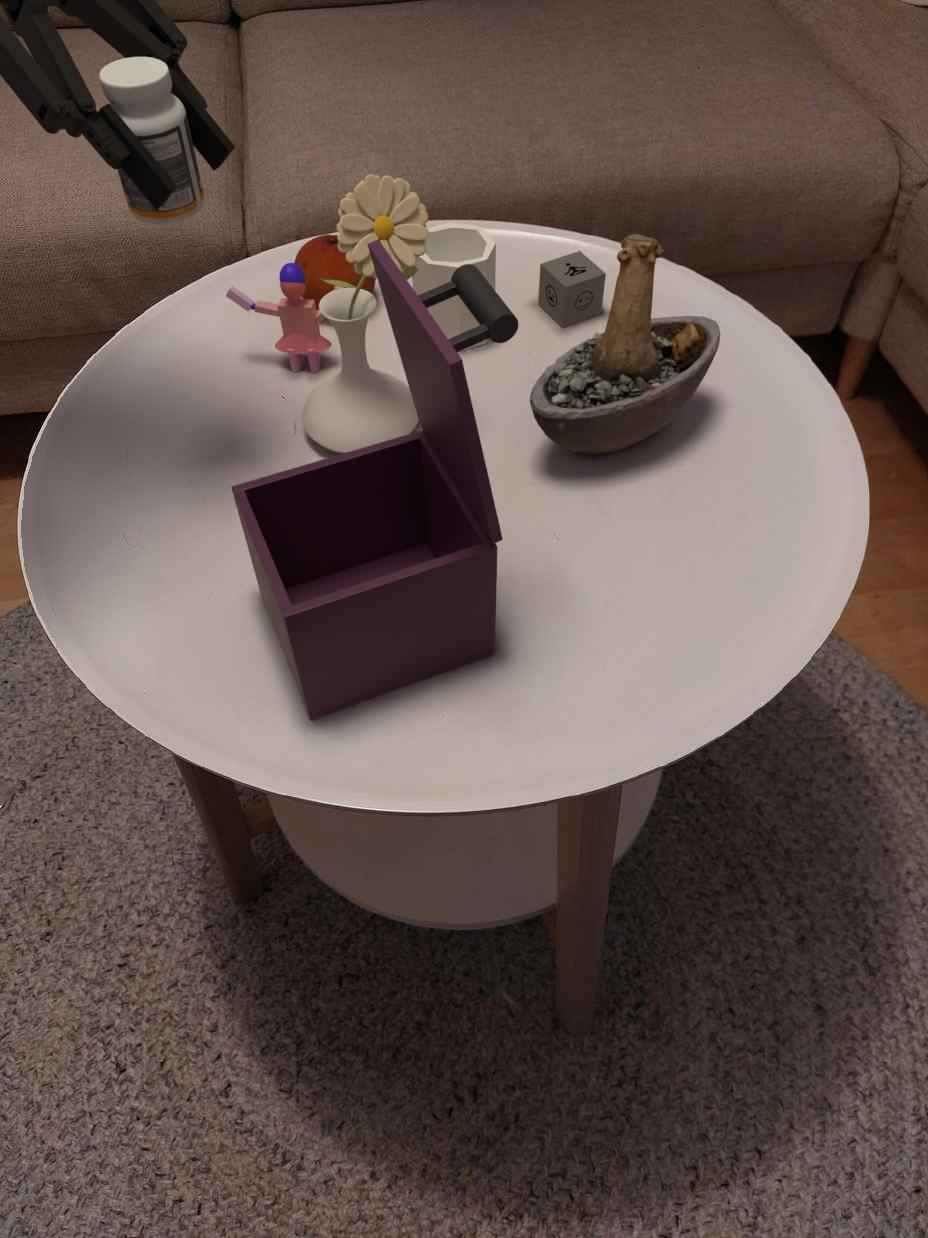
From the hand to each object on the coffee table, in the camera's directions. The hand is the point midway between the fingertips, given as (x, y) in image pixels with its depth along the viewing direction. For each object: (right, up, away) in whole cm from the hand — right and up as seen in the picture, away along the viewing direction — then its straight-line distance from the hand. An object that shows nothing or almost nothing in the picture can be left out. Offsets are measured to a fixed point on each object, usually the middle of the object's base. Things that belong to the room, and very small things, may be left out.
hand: (195, 177), depth 71 cm
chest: (+12, -32, +10) cm, 36 cm away
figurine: (+2, -5, +32) cm, 32 cm away
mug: (+18, +1, +36) cm, 41 cm away
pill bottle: (-3, -1, +4) cm, 5 cm away
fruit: (+6, +3, +38) cm, 39 cm away
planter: (+34, -14, +24) cm, 44 cm away
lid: (+17, -17, -5) cm, 25 cm away
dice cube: (+31, +2, +37) cm, 48 cm away
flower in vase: (+10, -13, +26) cm, 30 cm away
